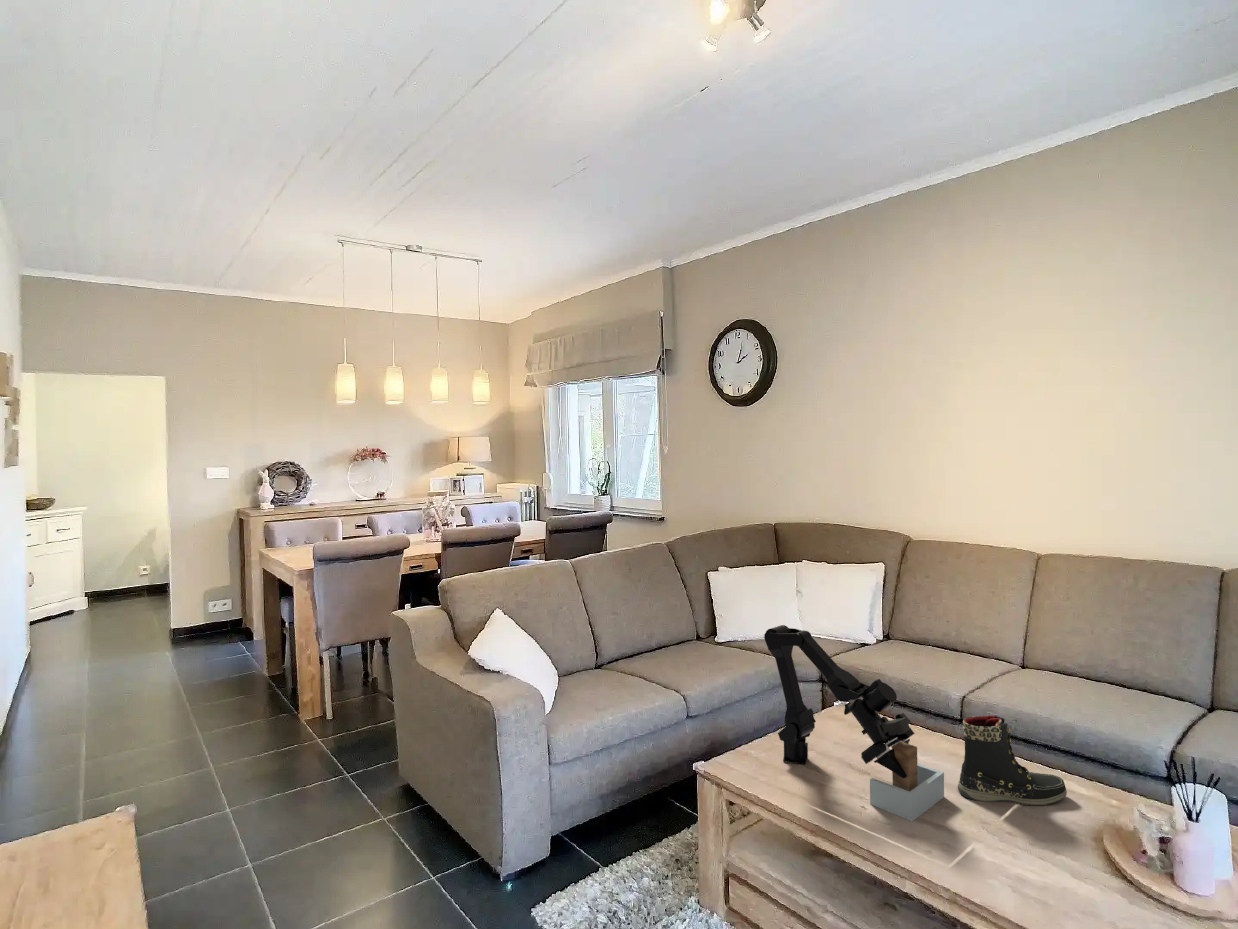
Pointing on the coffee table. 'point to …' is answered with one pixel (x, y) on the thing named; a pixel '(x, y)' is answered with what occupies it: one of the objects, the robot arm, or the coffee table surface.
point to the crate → (909, 794)
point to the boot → (1001, 768)
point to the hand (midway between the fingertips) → (910, 774)
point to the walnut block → (906, 766)
